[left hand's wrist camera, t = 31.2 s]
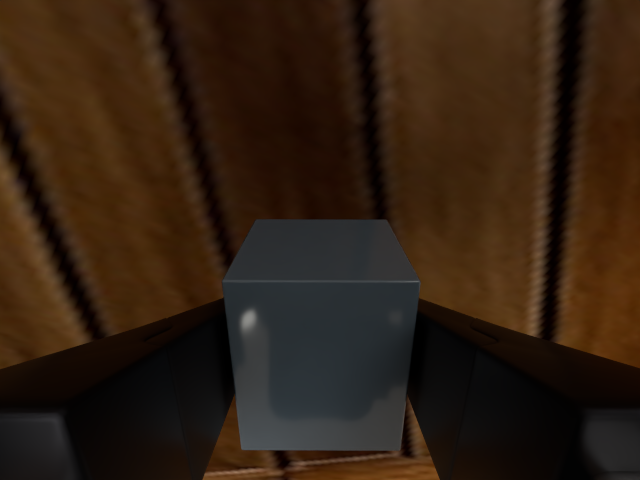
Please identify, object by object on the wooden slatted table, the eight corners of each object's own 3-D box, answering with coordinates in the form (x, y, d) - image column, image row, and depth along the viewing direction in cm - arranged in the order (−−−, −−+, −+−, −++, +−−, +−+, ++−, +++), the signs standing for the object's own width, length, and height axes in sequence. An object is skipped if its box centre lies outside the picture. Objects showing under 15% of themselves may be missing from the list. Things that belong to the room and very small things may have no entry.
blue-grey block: (264, 348, 13) (240, 450, 9) (255, 218, 11) (220, 280, 8) (377, 348, 13) (400, 451, 9) (387, 219, 11) (421, 281, 7)
